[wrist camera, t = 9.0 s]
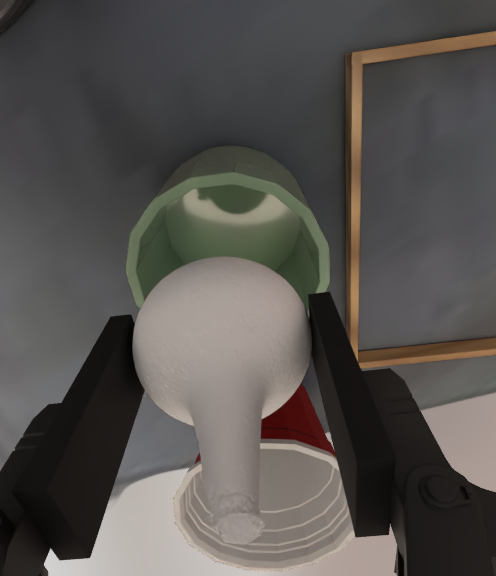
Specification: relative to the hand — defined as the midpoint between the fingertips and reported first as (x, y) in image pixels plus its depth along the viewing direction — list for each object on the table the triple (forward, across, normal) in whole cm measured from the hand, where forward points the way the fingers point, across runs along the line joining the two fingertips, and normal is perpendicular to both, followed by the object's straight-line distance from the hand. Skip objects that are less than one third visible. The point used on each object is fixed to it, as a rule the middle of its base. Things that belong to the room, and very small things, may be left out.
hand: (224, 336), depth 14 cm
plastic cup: (+13, 0, +13) cm, 19 cm away
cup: (+13, 0, 0) cm, 13 cm away
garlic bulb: (+1, 0, 0) cm, 1 cm away
